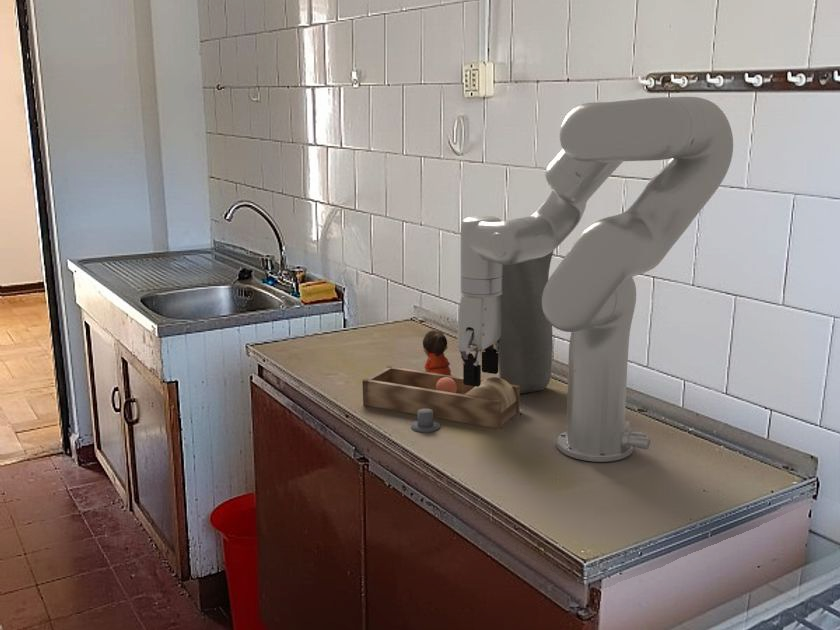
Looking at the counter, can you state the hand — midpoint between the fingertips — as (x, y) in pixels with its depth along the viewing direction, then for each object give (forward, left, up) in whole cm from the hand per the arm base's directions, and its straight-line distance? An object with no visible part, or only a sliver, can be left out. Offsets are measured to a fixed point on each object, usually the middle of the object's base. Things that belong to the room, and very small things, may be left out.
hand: (481, 378), depth 159 cm
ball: (+7, 0, -3) cm, 8 cm away
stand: (+6, +10, -7) cm, 14 cm away
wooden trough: (+9, 0, -9) cm, 12 cm away
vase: (-2, -17, -7) cm, 19 cm away
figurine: (+14, -11, -7) cm, 20 cm away
